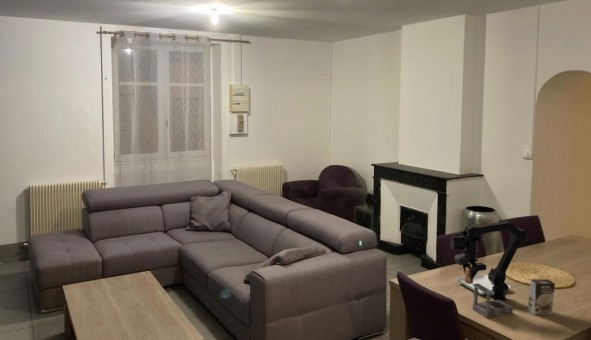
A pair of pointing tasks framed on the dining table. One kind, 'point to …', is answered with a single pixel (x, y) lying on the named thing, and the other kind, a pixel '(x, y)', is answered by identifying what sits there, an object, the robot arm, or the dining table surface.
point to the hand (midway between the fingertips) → (469, 277)
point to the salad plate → (479, 279)
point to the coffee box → (541, 297)
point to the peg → (468, 276)
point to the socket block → (489, 304)
